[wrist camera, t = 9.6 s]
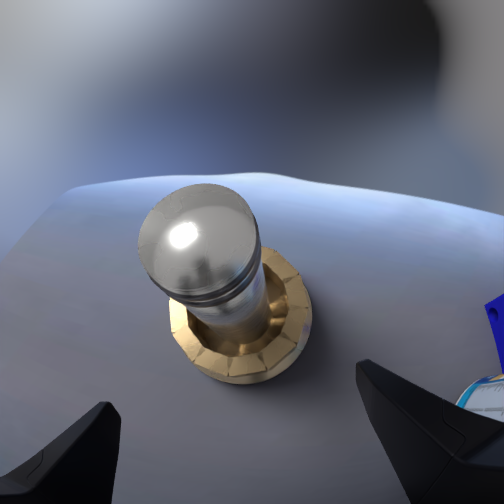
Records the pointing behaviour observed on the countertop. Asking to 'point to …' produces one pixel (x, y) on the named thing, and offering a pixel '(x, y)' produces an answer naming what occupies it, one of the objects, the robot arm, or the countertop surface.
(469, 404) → the beverage bottle
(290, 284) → the ring collar
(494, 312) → the blue curved cradle
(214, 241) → the cylinder
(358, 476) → the countertop surface
